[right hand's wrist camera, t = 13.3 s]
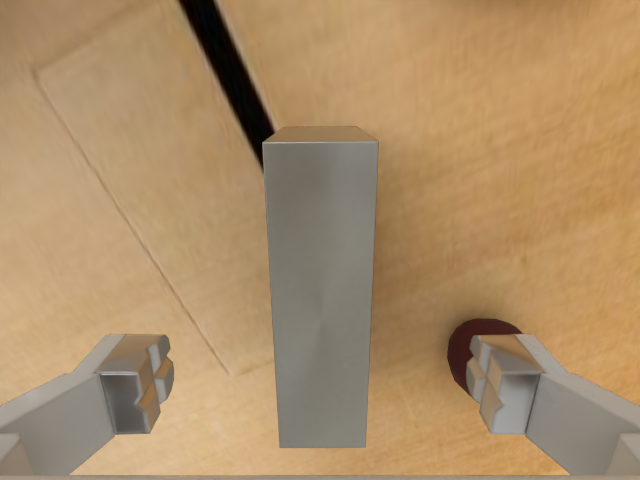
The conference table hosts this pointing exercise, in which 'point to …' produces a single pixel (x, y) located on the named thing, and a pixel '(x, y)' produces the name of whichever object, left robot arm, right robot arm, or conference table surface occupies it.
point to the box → (321, 280)
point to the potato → (462, 339)
